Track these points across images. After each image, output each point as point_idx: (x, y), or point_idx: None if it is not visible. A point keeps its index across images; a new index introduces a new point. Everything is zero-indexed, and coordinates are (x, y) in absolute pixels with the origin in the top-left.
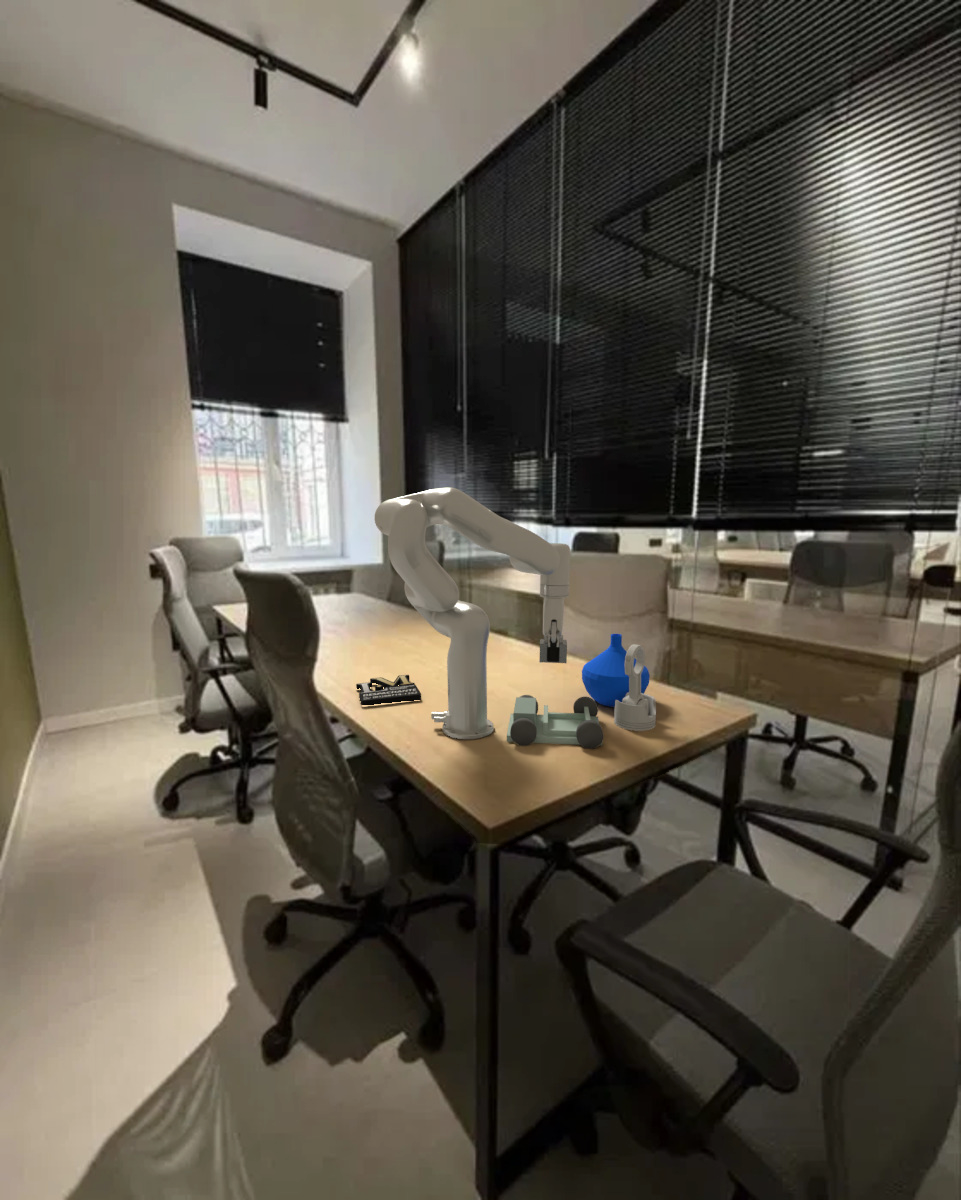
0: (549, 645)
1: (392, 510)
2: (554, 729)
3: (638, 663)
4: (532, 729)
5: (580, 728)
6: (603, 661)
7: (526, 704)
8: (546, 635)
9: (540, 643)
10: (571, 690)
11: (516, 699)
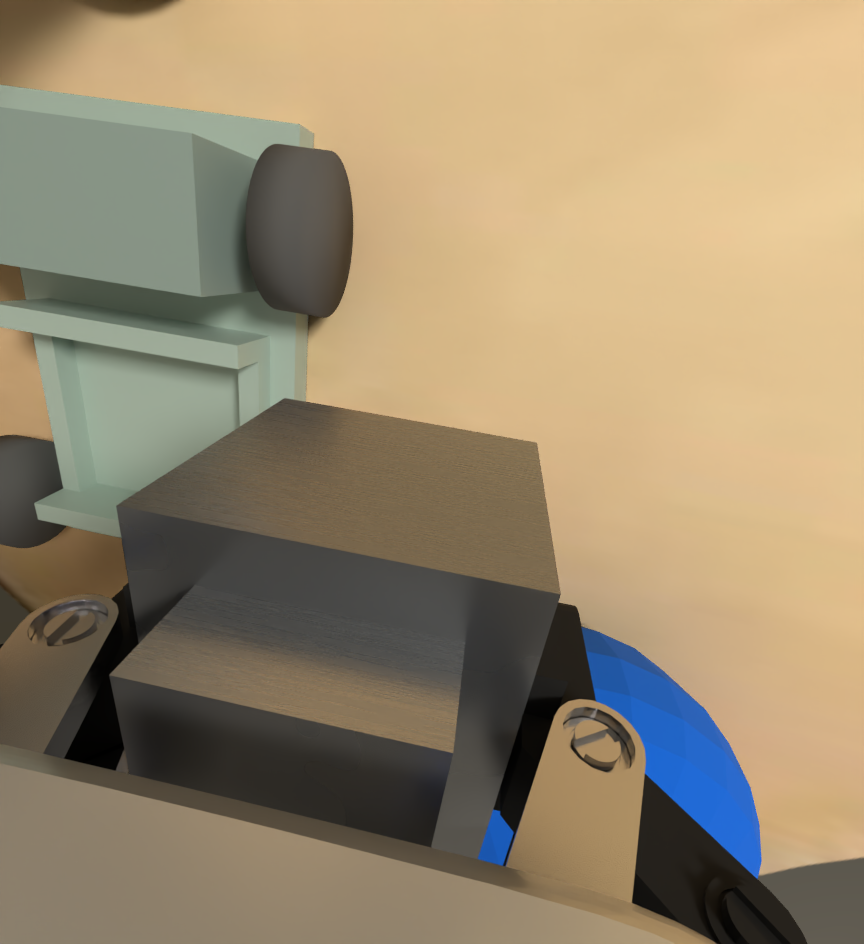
0: (39, 630)
1: None
2: (45, 356)
3: None
4: None
5: None
6: (480, 859)
7: (61, 209)
8: (328, 766)
9: (136, 519)
10: (748, 563)
11: (141, 132)
